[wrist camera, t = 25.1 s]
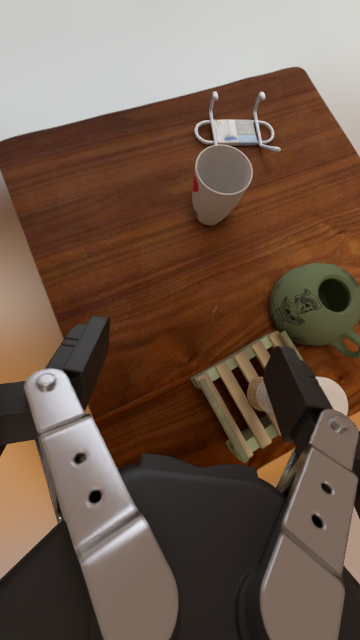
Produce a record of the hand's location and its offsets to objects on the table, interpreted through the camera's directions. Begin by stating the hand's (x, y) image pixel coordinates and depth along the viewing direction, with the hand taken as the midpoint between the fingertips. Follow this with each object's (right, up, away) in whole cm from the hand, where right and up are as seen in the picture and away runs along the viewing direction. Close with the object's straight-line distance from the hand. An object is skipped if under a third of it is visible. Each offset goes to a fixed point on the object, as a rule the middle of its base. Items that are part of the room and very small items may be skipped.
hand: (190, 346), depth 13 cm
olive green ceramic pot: (+21, +2, +32) cm, 38 cm away
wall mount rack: (+10, +34, +37) cm, 52 cm away
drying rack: (+10, -10, +28) cm, 31 cm away
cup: (+5, +20, +34) cm, 40 cm away
